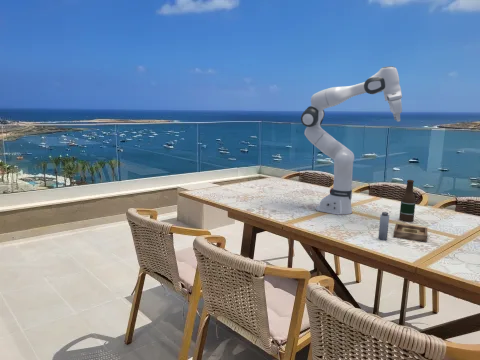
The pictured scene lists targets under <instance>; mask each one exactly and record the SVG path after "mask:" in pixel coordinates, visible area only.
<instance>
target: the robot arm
mask: <svg viewBox="0 0 480 360" xmlns="http://www.w3.org/2000/svg"><path fill="white" fill-rule="evenodd" d="M399 76H400V75H399V72H398V69H397V68H396V67H395V66H391V65H389V66H382V67H381V68H380V69H379V70H378V71H377V72H376V73H374V74H373V75H371V76H370V77H369V78H367V79H366V80H365V81H364V82H360V83H357V84H353V85H347V86H332V87H329V88H325V89H322V90H319V91H317V92H315V93H313V94H312V95H311V97H310V104H311V105H309V106H307V108H306V109H305V110H304V111H303V112H302V113H301V115H300V122H301V124H302V125H303V126H304V127H305V129H304V136H305V137H306V139H307V140H308V141H309V142H310V144H312V145H313V146H314V147H315V148H317V149H318V150H319V151H320V152H321V153H323V154H324V155H325V156H327V157H329V158H331V160H333V164H334V165H333V186H332V188H330V189H329V194H328V195H326V196H324V197H323V198H322V199H321V200H320V202H319V205H317V206H316V207H315V211H318V212H321V213H322V212H323V213H327V214H333V215H337V216H338V215H349V214H352V213H353V208H352V196H353V189H352V188H353V171H354V170H353V169H354V161H355V153H354V152H353V151H352V150H351V149H349V148H348V147H346V146H345V144H343V143H341V142H340V141H339V140H338V139H337V140H336V139H335V138H334V137H333V136H332V135H331V134H329V133H328V131H325V129H323V128H322V127H321V125H322V124H323V120H324V119H325V109H328V108H331V107H332V108H333V107H335V106H338V105H340V104H342V103H345V102H346V101H347V100H349V99H351V98H353V97H356V96H359V95H360V96H361V95H362V94H369V95H376V94H378V93H379V94H380V93H382V92H383V95H384V101H385V102H387V104H388V106H389V110H390V112H391V113H392V115H393V119H394V121H396V122H397V123H398V122H401V113H403V103H402V99H403V93H402V87H401V85H400V77H399Z"/></svg>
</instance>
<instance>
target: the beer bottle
mask: <svg viewBox="0 0 480 360" xmlns="http://www.w3.org/2000/svg"><path fill="white" fill-rule="evenodd" d="M414 183H415V180H412V179H407V180H406V189H405V193H404V194H403V195H402V197H401V200H400V207H399V219H398V220H399V221H401V222H404V223H405V222H406V223H412V222H413V221H414V218H415V210H416V203H417V202H416V196H415V194H414Z"/></svg>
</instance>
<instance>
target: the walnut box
mask: <svg viewBox="0 0 480 360" xmlns="http://www.w3.org/2000/svg"><path fill="white" fill-rule="evenodd" d="M393 238H396V239H397V238H398V239H403V240H410V241H417V242H421V243H422V242H423V243H427V242H428V227H424V226H423V227H422V226H416V225H409V224H402V223H395V225H394V229H393Z"/></svg>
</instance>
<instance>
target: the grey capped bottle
mask: <svg viewBox="0 0 480 360" xmlns="http://www.w3.org/2000/svg"><path fill="white" fill-rule="evenodd" d="M389 223H390V215H389V213H388V212H386V211H382V213H381V214H380V219H379V227H378V236H377V237H378V240H381V241H387V240H388V233H389Z"/></svg>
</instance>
